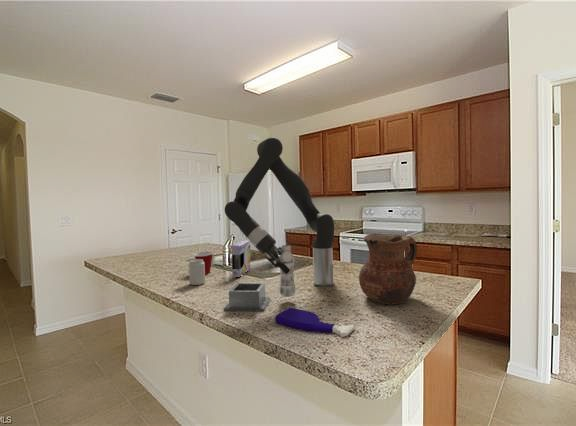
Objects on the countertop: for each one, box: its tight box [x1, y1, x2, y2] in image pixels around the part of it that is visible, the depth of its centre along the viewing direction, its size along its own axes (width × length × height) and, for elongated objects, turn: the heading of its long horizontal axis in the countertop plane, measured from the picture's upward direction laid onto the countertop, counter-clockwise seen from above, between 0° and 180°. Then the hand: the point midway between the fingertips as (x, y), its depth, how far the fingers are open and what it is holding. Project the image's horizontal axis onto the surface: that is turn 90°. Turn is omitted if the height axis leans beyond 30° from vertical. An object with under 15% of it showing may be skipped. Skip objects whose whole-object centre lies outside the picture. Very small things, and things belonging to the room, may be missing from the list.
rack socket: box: [223, 282, 271, 312], centre depth 117 cm, size 15×13×7 cm
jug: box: [358, 233, 418, 305], centre depth 119 cm, size 22×21×25 cm
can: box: [188, 258, 206, 286], centre depth 149 cm, size 8×8×12 cm
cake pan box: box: [231, 239, 251, 278], centre depth 167 cm, size 19×5×18 cm, turn 168°
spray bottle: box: [274, 307, 356, 338], centre depth 96 cm, size 3×11×24 cm
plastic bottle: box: [279, 244, 297, 298], centre depth 119 cm, size 6×7×20 cm
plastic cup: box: [193, 250, 214, 275], centre depth 171 cm, size 11×11×12 cm
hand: (290, 270), depth 118 cm, fingers closed on plastic bottle, 6 cm apart
